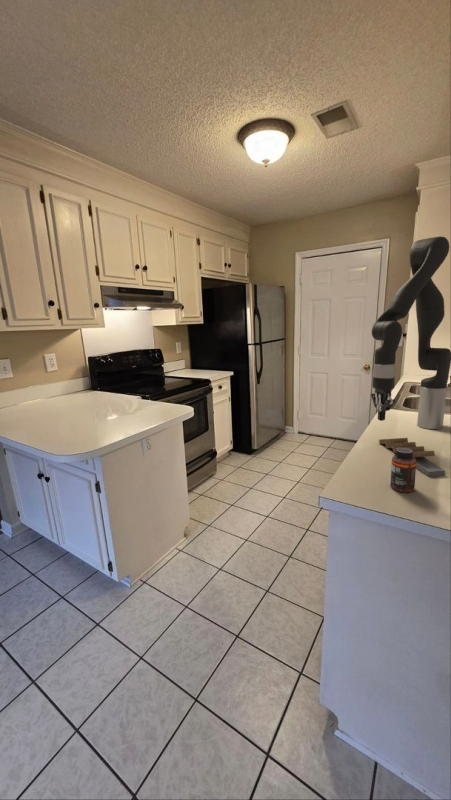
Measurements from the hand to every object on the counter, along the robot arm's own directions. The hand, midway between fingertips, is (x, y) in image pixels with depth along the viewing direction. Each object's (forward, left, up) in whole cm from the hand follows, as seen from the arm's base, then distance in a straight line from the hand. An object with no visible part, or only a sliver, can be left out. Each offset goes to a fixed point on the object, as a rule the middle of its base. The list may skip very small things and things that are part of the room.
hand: (381, 419), depth 126 cm
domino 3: (+6, +12, -7) cm, 15 cm away
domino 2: (+4, +8, -7) cm, 11 cm away
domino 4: (+8, +16, -7) cm, 19 cm away
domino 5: (+10, +20, -7) cm, 23 cm away
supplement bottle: (+28, +28, -8) cm, 41 cm away
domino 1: (+2, +4, -7) cm, 8 cm away
